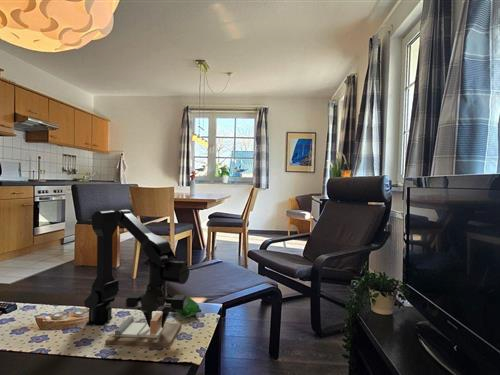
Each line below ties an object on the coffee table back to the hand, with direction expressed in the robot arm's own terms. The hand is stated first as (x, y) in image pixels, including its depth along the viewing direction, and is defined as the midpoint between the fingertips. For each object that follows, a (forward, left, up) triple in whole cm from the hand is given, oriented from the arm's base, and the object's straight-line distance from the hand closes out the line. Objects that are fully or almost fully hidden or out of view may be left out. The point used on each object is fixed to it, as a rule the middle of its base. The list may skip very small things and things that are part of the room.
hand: (156, 327), depth 98 cm
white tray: (-8, 0, -2) cm, 9 cm away
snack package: (+5, +19, -3) cm, 20 cm away
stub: (-1, 0, -1) cm, 2 cm away
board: (-3, 0, -3) cm, 5 cm away
